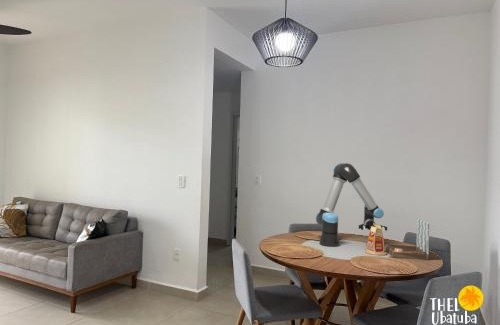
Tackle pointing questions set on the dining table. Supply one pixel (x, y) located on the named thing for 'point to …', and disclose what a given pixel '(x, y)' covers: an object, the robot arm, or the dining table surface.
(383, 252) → the tan round dome
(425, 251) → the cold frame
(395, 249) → the peach rounded knob
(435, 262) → the dining table surface
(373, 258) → the dining table surface
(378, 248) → the milk carton
